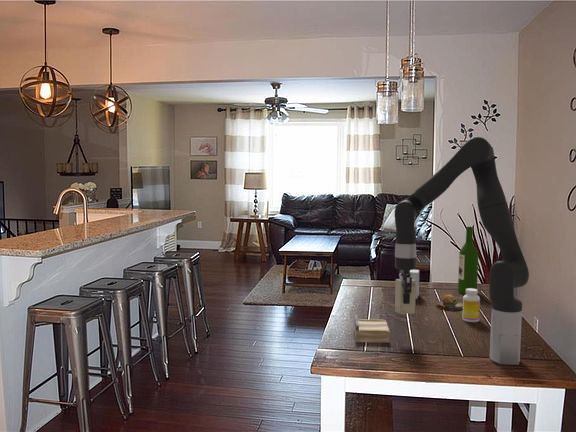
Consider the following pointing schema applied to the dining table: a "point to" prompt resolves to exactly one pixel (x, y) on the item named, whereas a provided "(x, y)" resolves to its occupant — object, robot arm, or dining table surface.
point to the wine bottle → (468, 264)
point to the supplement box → (416, 277)
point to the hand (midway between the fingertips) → (405, 301)
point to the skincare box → (399, 304)
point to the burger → (450, 303)
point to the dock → (371, 330)
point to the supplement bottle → (471, 306)
